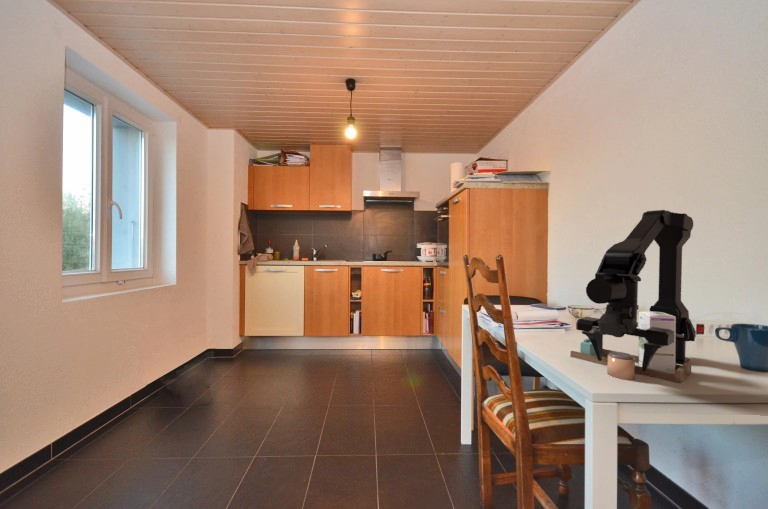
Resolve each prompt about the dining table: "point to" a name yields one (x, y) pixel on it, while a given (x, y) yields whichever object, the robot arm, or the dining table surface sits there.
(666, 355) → the syrup box
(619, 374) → the jar
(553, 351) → the dining table surface
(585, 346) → the block
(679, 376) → the lane
